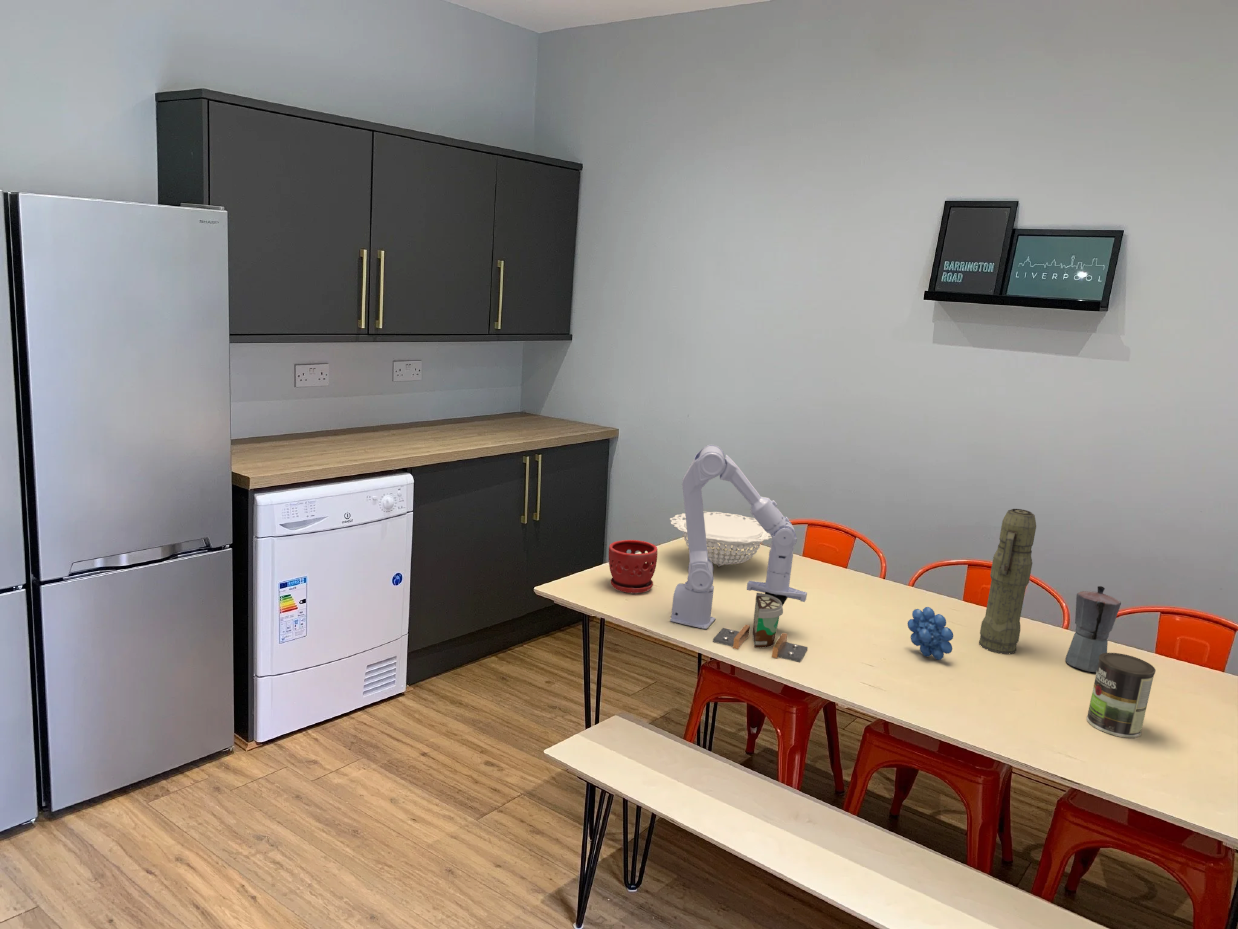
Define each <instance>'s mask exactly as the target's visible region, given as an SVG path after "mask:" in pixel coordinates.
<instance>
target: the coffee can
mask: <svg viewBox="0 0 1238 929" xmlns="http://www.w3.org/2000/svg"><path fill="white" fill-rule="evenodd" d="M1155 674H1156V667H1155V666H1153V665H1152V664H1151V663H1149V662H1147V661H1146V660H1143V659H1141V658H1138V657H1135V656H1133V655H1129V654H1125V653H1117V652H1107V653H1103V654H1101V655H1099V663H1098V668H1097V672H1095V677H1094V682H1093V688H1092V692H1091V697H1090V702H1089V706H1088V710H1087V716H1086V722H1087V723H1088V724H1089V725H1090V726H1092V727H1093V728H1094V729H1096V730H1098V731H1100V732H1103V733H1104V734H1108V735H1110V736H1114V737H1119V738H1123V739H1124V738H1125V739H1134V738H1138V737H1140V736H1141V735H1142V728H1143V724H1144V719H1145V717H1146V712H1147V707H1148V703H1149V697H1150V694H1151V689H1152V685H1153V680H1154V676H1155Z"/></svg>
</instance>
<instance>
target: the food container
mask: <svg viewBox="0 0 1238 929" xmlns="http://www.w3.org/2000/svg"><path fill="white" fill-rule="evenodd" d="M755 594H756V595H755V605H754V614H753V621H752V622H753V623H752V630H751V631H752V632H751V633H752V640H753V645H754V646H753V648H756V649H761V648H762V649H763V648H764V649H765V648H766V649H767V648H770V647H772V646H774V645H775V640H776V636H777V630H778V625H779V622H780V621H779V620H780V617H781V616H782V615H783V614H784V609H783V606H784V605H783V606H782V603H781V601H780V600H779V599H777V598H775V597H773V596H770V595H767V594H765V593H763V592H756V593H755Z"/></svg>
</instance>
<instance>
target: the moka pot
mask: <svg viewBox="0 0 1238 929" xmlns="http://www.w3.org/2000/svg"><path fill="white" fill-rule="evenodd" d="M1105 589H1106V588H1105V587H1104V586H1101V585H1100V586H1099V585H1098V586H1097V591H1087V590H1086V591H1084V590H1082V591H1080V592H1077V593H1076V598H1075V599H1076V601H1075V617H1074V618H1075V619H1074V624H1075V625H1076V626H1075V630H1074V631H1075V632H1074V634H1073V637H1072V640H1071V643H1070V645H1069V647H1068V649H1067V653H1066V656H1065V659H1064V660H1065V662H1066V664H1067V665H1069V666H1071V667H1073V668H1076V669H1079V670H1081V671H1085V672H1089V673H1096V672H1097V668H1098V663H1099V655H1101V654H1103V653H1108V642H1109V641H1108V638H1109V635H1110V633H1111V632H1112V630H1113V628H1114V625H1115V622H1116V620H1117V616H1118V614H1119V611H1120V608H1121V605H1122V602H1121V601H1120V600H1118V599H1117V598H1115V597H1113V596H1111V595H1108V594H1105V593H1104V592H1105Z"/></svg>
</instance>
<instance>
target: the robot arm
mask: <svg viewBox="0 0 1238 929" xmlns="http://www.w3.org/2000/svg"><path fill="white" fill-rule="evenodd" d="M718 476H719V479H720V480H722V481H727V482H730V483H731V484H732V485H733V486H734V487H735V489H736V490H737V491H738V492H739V493H740V494H741V495H742V496H743V498H744V499H745V500H746V501H747V502H748V504H749V505H750V509H749V510H750V514H751V515H752V516H753V518H755V519H756V520H757V521H758V523H759V524H760V525H759V526H762V527H763V529H764V530H765V531H766V532H767V533H769V534H770V535H771V537H772V538H771V544H770V550H769V552H768V553H769V554H768V559H767V560H768V561H767V569H766V576H765V577H766V578H765V582H764V581H755V580H754V581H753V580H749V581H748V582H747V583H746V584H747V585H746V591H754V592H758V593H763V594H767V595H770V596H773V597H775V598H777V599H779V600H780V601H781V603H782V606H784V604H785V602H786V601H787V600H788V599H792V600H797V601H799V602H803V603H805V602H806V600H807V596H808V592H806V591H803V590H799V589H796V588H793V587H791V586H790V583H791V575H792V574H791V573H792V567H793V560H794V559H793V558H794V552H793V551H794V549H795V548H794V547H795V545H796V544H797V541H798V538H797V533H796V531H795V528H794V525H793V524H792V522H791V521H790V519H789V518H788V516H784V515H783V513H782V512H781V511H780V509H779V508H778V507H777V506H778V503H777V502H776V501H775V500H774V499H773V500H771V498H770V497H765V496H761V495H760V493H759V491H757V489H756V488H755V487H754V486H753V484H752V483H751V482H750V480H749V479H748V478H747V476H746V475H745V473H744V472H743V471H742V469H741V468H740V467H739V465H737V463H735V461H734V460H733V459H732V458H731V457H730V456H729V455H727V454H725V453H724V451H723V449H722V447H720V446H718V445H716V444H708V445H705V446H704V447H702V448H701V449H700V450H699V451H698V452H696V454H695V455H694V457H693V459H692V461H691V463H690V464H689V467H688V468H687V470H686V472H685V473H684V476H683V478H682V482H681V483H682V484H681V485H682V495H683V504H684V513H685V516H686V525H687V535H688V538H687V540H688V545H689V548H688V553H689V563H688V566H687V568H688V569H687V570H688V575H687V581H685V583H677V584H676V586H675V588H674V592H673V596H672V605H671V606H672V607H671V616H670V618H669V621H670V622H672V623H676V624H681V625H686V626H690V627H695V628H699V629H703V630H707V629H708V628H709V627H710V626H711V625H712V624H713V623H714V622H715V621H716V617H713V616H712V608H713V607H712V606H713V599H714V591H715V586H714V585H713V584H714V581H715V580H714V574H713V572H714V566H713V565H714V563H712V562H711V561H710V559H709V556H708V553H709V552H708V550H707V549H708V547H707V541H706V531H705V521H704V513H705V512H704V510H705V509H704V502H703V491H702V489H703V487H704V486H705V485H706V484H707V483H708V482H709V481H711V480H713V479H716V478H717V477H718Z"/></svg>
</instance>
